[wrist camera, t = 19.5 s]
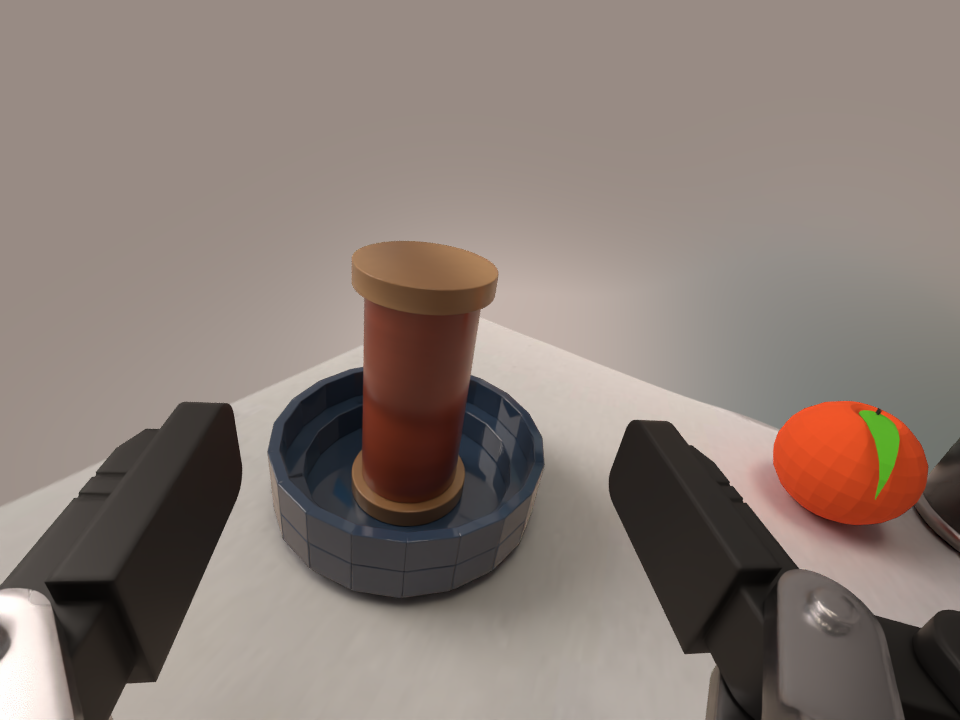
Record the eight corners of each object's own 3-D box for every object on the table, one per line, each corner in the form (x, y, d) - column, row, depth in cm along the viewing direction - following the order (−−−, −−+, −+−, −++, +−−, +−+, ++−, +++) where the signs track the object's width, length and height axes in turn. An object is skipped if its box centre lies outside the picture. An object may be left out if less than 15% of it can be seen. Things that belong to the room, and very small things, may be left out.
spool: (432, 435, 28) (454, 239, 22) (483, 502, 24) (527, 283, 18) (336, 462, 25) (332, 242, 19) (375, 544, 20) (386, 296, 15)
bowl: (455, 398, 32) (461, 349, 30) (579, 536, 23) (599, 479, 21) (254, 445, 26) (246, 386, 24) (317, 665, 16) (313, 598, 15)
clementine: (906, 590, 23) (1004, 488, 20) (758, 531, 25) (823, 430, 22) (864, 491, 30) (932, 402, 26) (749, 451, 32) (798, 363, 28)
